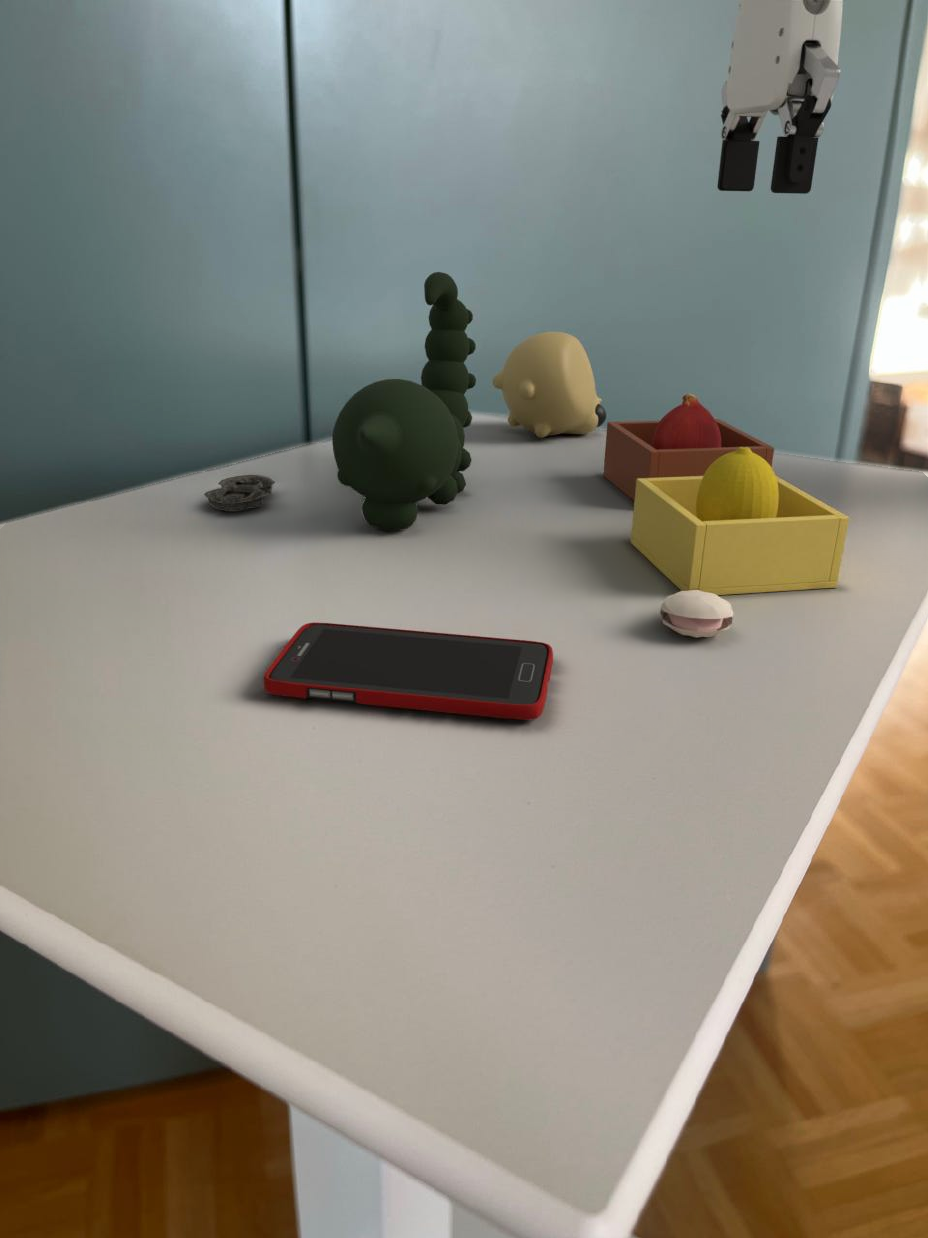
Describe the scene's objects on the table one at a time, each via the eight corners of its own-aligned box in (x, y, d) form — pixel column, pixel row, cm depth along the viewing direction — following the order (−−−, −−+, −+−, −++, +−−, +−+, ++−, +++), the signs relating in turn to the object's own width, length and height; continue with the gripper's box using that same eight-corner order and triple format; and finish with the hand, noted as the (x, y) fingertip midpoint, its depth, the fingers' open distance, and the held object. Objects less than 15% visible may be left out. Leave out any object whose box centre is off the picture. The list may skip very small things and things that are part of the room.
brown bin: (712, 471, 94) (718, 418, 92) (766, 505, 85) (774, 447, 83) (603, 475, 92) (607, 421, 90) (645, 511, 83) (651, 451, 81)
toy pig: (574, 476, 105) (642, 402, 105) (515, 398, 97) (588, 318, 98) (523, 451, 112) (586, 383, 113) (465, 377, 105) (532, 303, 105)
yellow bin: (762, 535, 77) (771, 472, 75) (836, 587, 68) (849, 517, 66) (630, 542, 75) (636, 478, 73) (687, 597, 66) (696, 524, 64)
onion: (677, 472, 92) (686, 384, 89) (729, 486, 88) (741, 395, 85) (635, 482, 88) (643, 391, 85) (687, 497, 84) (698, 403, 81)
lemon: (675, 548, 73) (687, 440, 70) (739, 540, 75) (754, 434, 71) (718, 574, 68) (733, 460, 65) (786, 565, 70) (804, 453, 67)
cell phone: (541, 725, 50) (542, 708, 49) (258, 697, 52) (257, 680, 51) (554, 658, 57) (555, 642, 56) (304, 635, 59) (303, 620, 58)
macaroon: (659, 641, 59) (663, 602, 58) (656, 608, 64) (660, 572, 63) (733, 647, 59) (739, 608, 58) (725, 613, 63) (730, 576, 62)
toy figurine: (399, 482, 95) (299, 545, 72) (403, 270, 89) (295, 264, 65) (497, 490, 93) (426, 558, 70) (508, 274, 87) (434, 270, 64)
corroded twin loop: (283, 486, 86) (282, 475, 86) (258, 515, 79) (257, 502, 79) (226, 484, 87) (225, 472, 86) (196, 512, 79) (195, 500, 79)
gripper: (903, -74, 69) (859, 195, 76) (782, -29, 85) (754, 190, 92) (805, -81, 68) (768, 193, 75) (700, -35, 83) (678, 189, 90)
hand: (761, 191), depth 83 cm, fingers open, 9 cm apart
